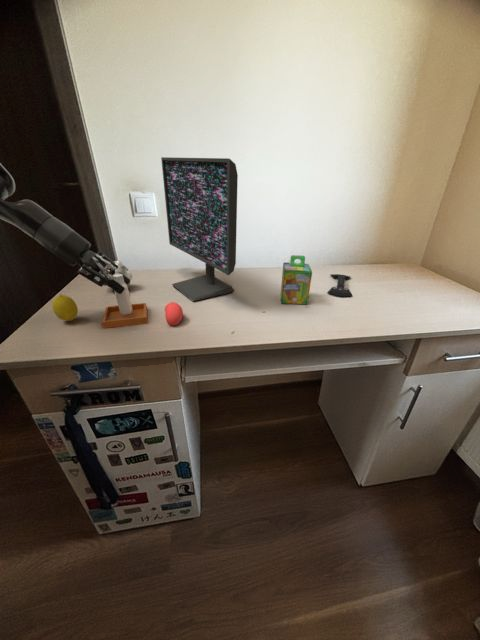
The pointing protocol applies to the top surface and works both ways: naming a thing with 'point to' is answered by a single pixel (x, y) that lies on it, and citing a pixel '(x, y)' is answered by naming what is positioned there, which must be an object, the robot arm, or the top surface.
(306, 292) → the chalk box
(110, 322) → the amber tray
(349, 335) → the top surface
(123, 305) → the eye dropper bottle
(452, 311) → the top surface
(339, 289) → the dark flared piece
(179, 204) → the computer monitor
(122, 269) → the silver rounded lump
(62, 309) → the lemon
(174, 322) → the red kidney bean shape
